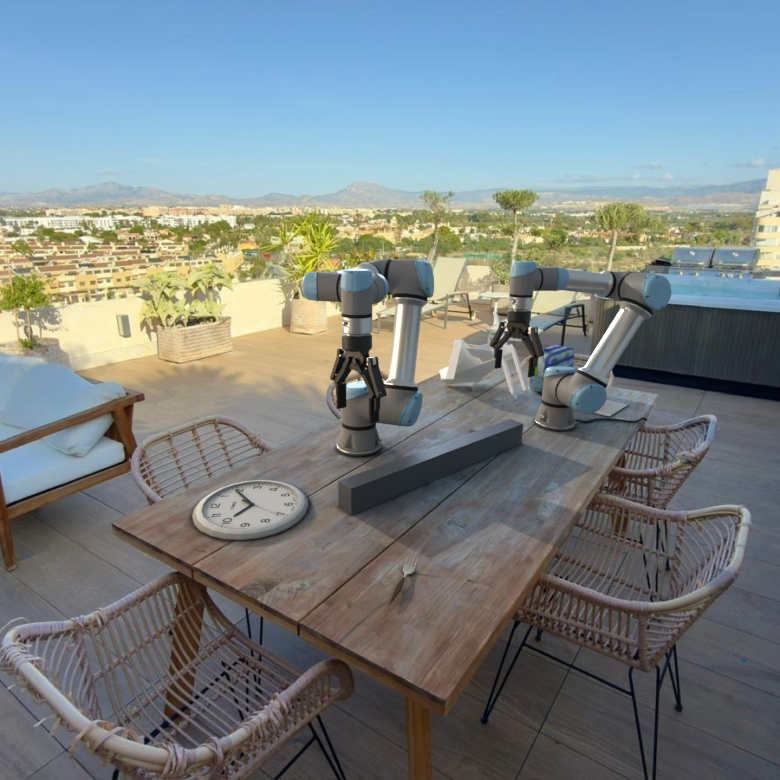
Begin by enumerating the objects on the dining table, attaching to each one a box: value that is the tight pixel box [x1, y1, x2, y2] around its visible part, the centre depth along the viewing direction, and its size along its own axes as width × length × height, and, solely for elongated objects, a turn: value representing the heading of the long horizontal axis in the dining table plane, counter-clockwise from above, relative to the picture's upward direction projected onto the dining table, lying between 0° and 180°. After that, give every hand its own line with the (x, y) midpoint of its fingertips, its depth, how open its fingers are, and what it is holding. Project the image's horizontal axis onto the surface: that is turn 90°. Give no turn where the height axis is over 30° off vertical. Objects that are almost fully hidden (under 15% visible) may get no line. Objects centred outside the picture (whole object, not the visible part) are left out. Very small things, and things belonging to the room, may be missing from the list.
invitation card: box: [593, 399, 629, 418], centre depth 226 cm, size 21×1×15 cm
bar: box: [337, 418, 524, 516], centre depth 163 cm, size 76×6×8 cm, turn 131°
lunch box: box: [529, 345, 575, 394], centre depth 245 cm, size 26×11×21 cm, turn 134°
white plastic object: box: [438, 310, 531, 400], centre depth 245 cm, size 37×45×31 cm
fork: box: [388, 554, 419, 606], centre depth 112 cm, size 3×16×2 cm, turn 160°
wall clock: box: [191, 479, 309, 541], centre depth 140 cm, size 30×2×30 cm
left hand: (357, 414), depth 135 cm, fingers open, 13 cm apart
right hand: (513, 372), depth 177 cm, fingers open, 13 cm apart
